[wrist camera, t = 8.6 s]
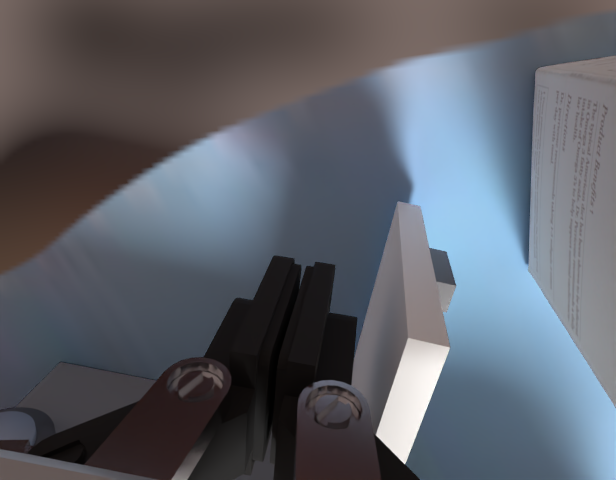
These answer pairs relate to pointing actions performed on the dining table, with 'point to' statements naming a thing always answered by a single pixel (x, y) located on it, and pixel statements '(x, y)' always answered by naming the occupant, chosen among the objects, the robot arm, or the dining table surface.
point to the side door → (404, 332)
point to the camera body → (84, 406)
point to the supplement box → (577, 205)
